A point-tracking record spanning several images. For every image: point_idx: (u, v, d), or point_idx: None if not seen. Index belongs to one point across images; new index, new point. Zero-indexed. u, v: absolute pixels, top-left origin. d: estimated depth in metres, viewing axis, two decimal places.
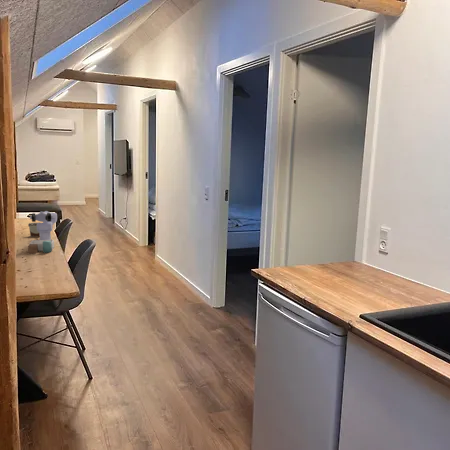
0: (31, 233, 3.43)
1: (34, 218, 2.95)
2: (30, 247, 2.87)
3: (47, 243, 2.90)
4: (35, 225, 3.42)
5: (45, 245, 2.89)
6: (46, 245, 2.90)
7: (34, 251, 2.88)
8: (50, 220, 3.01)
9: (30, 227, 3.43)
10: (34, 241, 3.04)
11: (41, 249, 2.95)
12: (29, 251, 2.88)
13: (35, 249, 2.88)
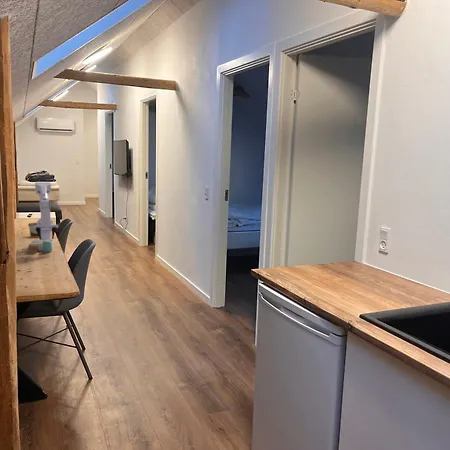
0: (31, 233, 3.43)
1: (40, 235, 2.90)
2: (30, 247, 2.87)
3: (47, 243, 2.90)
4: None
5: (45, 245, 2.89)
6: (46, 245, 2.90)
7: (34, 251, 2.88)
8: None
9: (30, 227, 3.43)
10: (34, 241, 3.04)
11: (41, 249, 2.95)
12: (29, 251, 2.88)
13: (35, 249, 2.88)
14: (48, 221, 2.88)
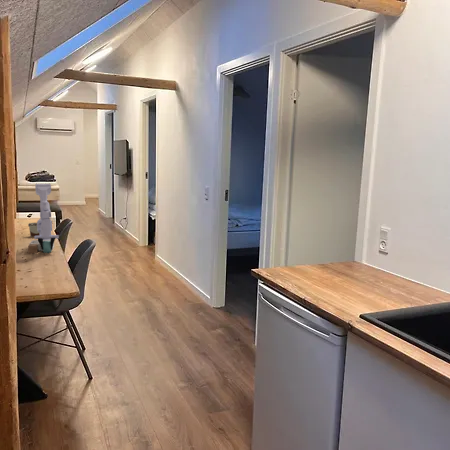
0: (31, 233, 3.43)
1: (42, 246, 2.92)
2: (30, 247, 2.87)
3: (47, 243, 2.90)
4: (35, 225, 3.42)
5: (45, 245, 2.89)
6: (46, 245, 2.90)
7: (34, 251, 2.88)
8: (54, 239, 2.95)
9: (30, 227, 3.43)
10: (34, 241, 3.04)
11: (41, 249, 2.95)
12: (29, 251, 2.88)
13: (35, 249, 2.88)
14: (48, 232, 2.89)
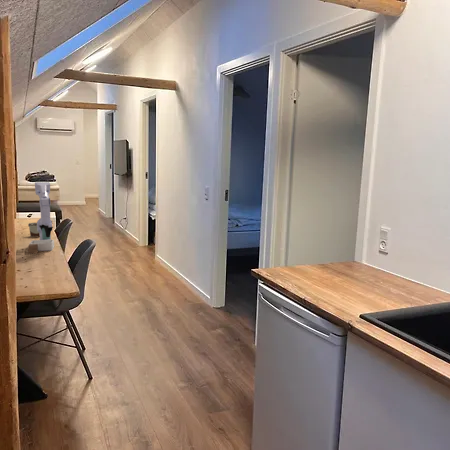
0: (31, 233, 3.43)
1: None
2: (30, 247, 2.87)
3: (43, 230, 2.94)
4: (35, 225, 3.42)
5: (42, 231, 2.95)
6: (42, 232, 2.94)
7: (34, 251, 2.88)
8: None
9: (30, 227, 3.43)
10: (34, 241, 3.04)
11: (41, 249, 2.95)
12: (29, 251, 2.88)
13: (35, 249, 2.88)
14: (43, 219, 2.92)
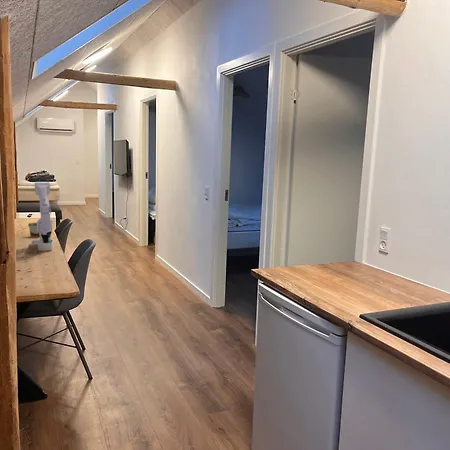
0: (31, 233, 3.43)
1: None
2: (30, 247, 2.87)
3: (42, 239, 2.99)
4: (35, 225, 3.42)
5: None
6: None
7: (34, 251, 2.88)
8: (48, 236, 2.95)
9: (30, 227, 3.43)
10: (34, 241, 3.04)
11: (41, 249, 2.95)
12: (29, 251, 2.88)
13: (35, 249, 2.88)
14: (42, 226, 2.97)
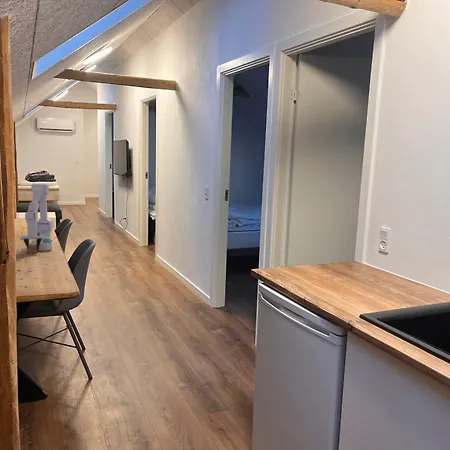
0: None
1: None
2: (30, 247, 2.87)
3: (42, 239, 2.99)
4: None
5: None
6: None
7: (34, 251, 2.88)
8: None
9: None
10: (34, 241, 3.04)
11: (41, 249, 2.95)
12: (29, 251, 2.88)
13: (35, 249, 2.88)
14: (34, 232, 2.87)
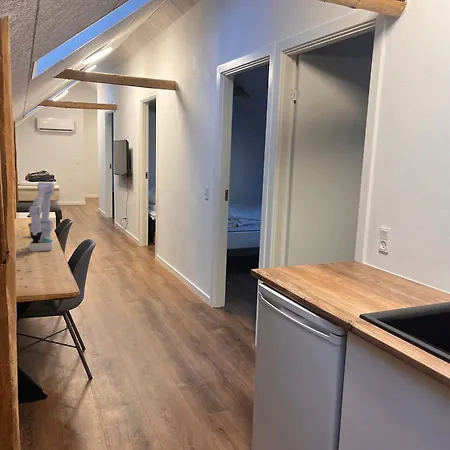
0: (31, 233, 3.43)
1: None
2: None
3: (42, 239, 2.99)
4: None
5: None
6: None
7: None
8: (38, 236, 2.94)
9: (30, 227, 3.43)
10: None
11: (41, 249, 2.95)
12: None
13: None
14: (32, 227, 2.95)
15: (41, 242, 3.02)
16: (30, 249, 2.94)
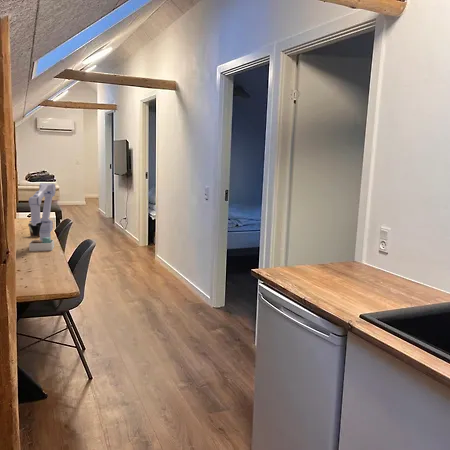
0: (31, 233, 3.43)
1: (37, 230, 3.02)
2: None
3: (42, 239, 2.99)
4: None
5: None
6: None
7: None
8: (38, 227, 2.93)
9: (30, 227, 3.43)
10: None
11: (41, 249, 2.95)
12: None
13: None
14: (31, 217, 2.94)
15: (41, 242, 3.02)
16: (30, 249, 2.94)
